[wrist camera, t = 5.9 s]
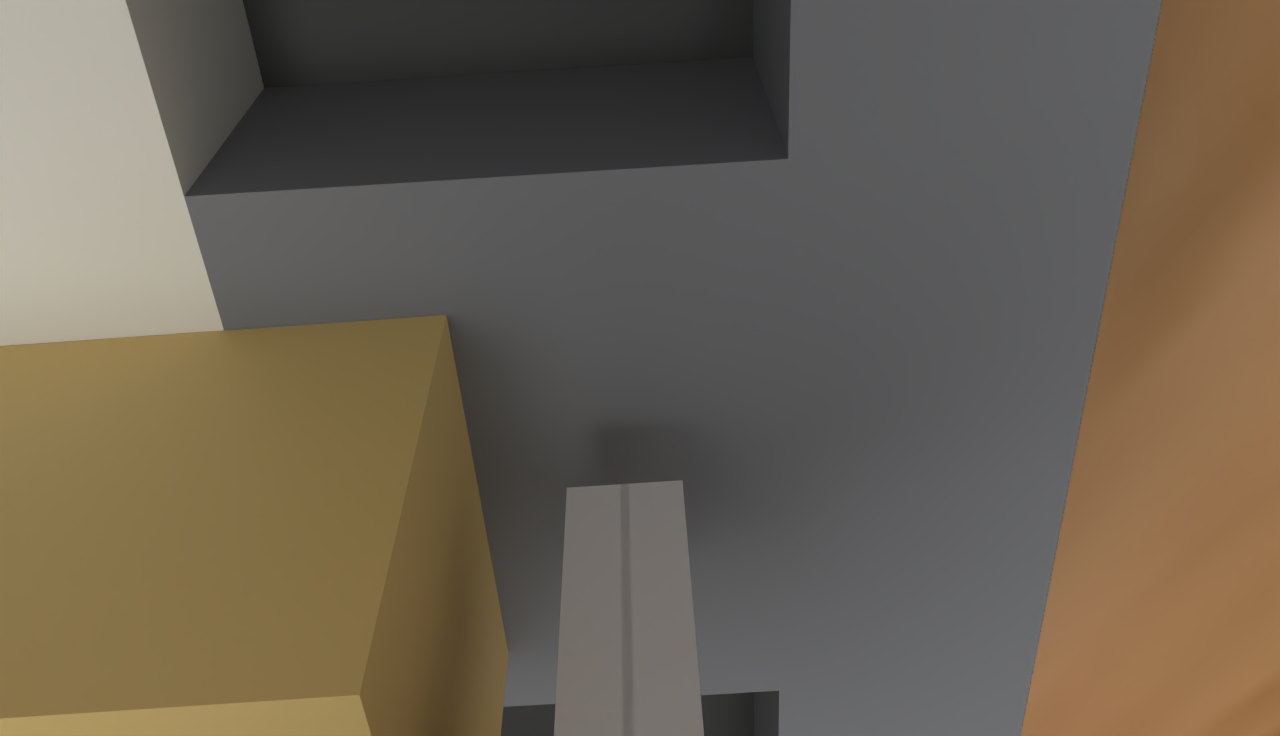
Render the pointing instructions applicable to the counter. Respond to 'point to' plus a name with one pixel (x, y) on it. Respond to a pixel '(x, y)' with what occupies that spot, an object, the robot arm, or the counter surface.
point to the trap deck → (644, 284)
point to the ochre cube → (245, 537)
